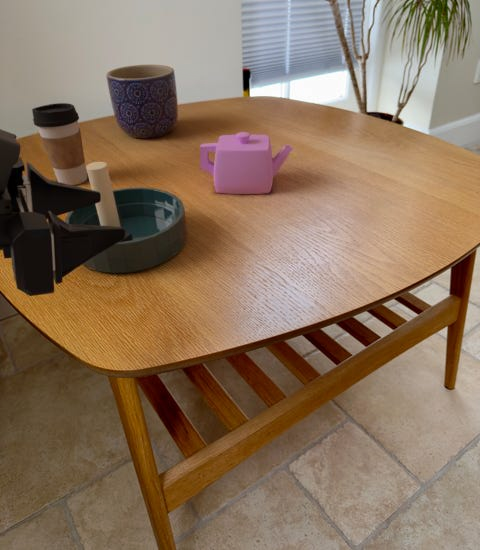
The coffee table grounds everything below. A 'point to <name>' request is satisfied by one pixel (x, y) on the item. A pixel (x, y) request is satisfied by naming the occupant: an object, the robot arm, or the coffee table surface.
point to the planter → (144, 99)
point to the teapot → (242, 163)
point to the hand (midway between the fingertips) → (111, 213)
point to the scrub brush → (104, 196)
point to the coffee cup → (62, 141)
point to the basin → (139, 229)
